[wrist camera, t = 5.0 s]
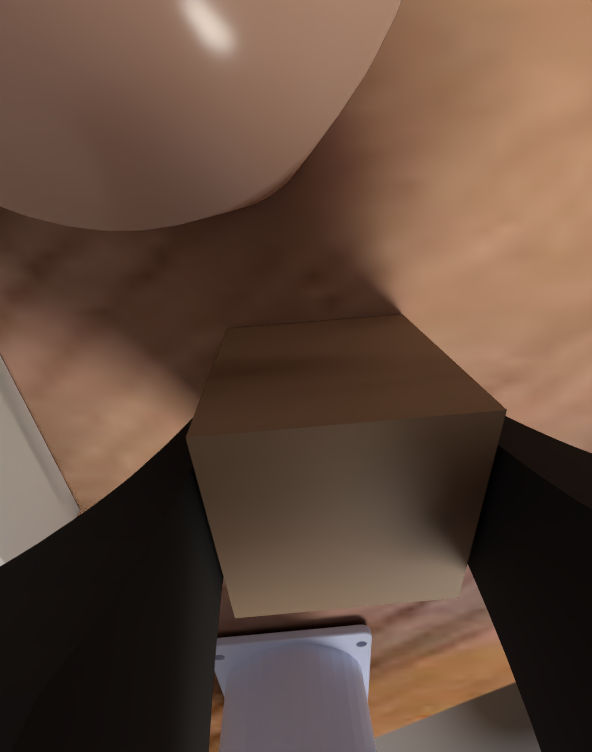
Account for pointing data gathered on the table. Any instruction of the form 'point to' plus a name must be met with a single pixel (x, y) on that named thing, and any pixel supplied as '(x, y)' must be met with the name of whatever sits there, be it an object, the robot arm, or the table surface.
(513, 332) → the table surface
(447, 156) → the table surface
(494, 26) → the table surface
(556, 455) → the robot arm
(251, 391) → the walnut cube
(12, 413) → the off-white tray
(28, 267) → the table surface
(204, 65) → the beige rounded cylinder
